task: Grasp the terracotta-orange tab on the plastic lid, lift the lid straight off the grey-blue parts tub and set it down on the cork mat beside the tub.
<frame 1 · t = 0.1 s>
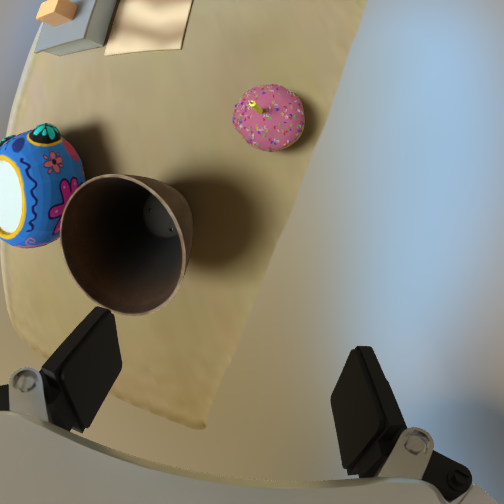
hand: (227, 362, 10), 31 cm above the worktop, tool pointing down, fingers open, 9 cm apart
ceramic pot: (64, 179, 39), on the worktop
plant pot: (166, 214, 41), on the worktop
cupcake: (269, 121, 36), on the worktop
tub: (92, 8, 28), on the worktop
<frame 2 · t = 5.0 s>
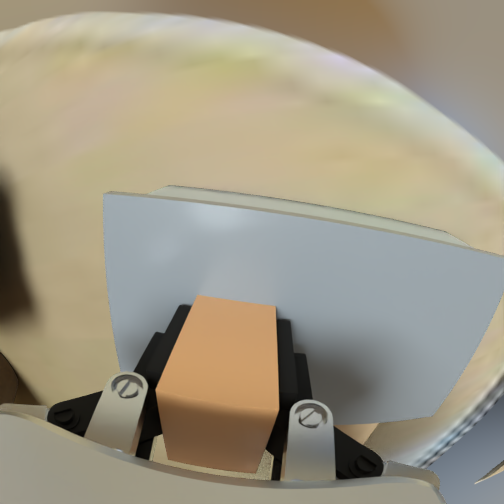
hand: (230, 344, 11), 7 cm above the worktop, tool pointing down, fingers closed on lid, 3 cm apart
lid: (322, 343, 12), point 6 cm above the worktop, touching gripper, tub
mat: (272, 409, 22), on the worktop
plant pot: (1, 363, 25), on the worktop
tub: (307, 284, 18), on the worktop
when the fingers open (4 cm above the worktop, at t = 11.7 s): lid drops 2 cm, resting on mat.
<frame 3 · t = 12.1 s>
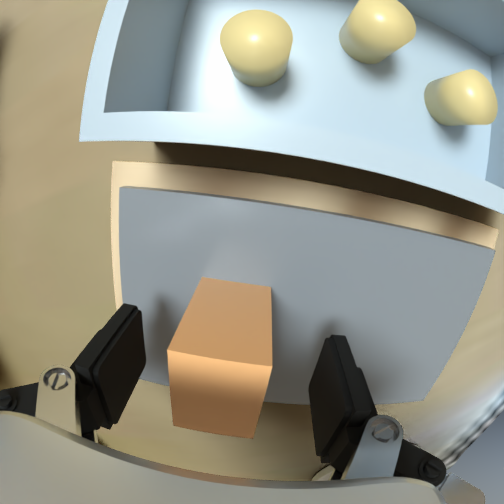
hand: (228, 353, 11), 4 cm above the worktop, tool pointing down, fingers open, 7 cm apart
lid: (314, 323, 13), point 1 cm above the worktop, touching mat
mat: (313, 309, 15), on the worktop
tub: (357, 67, 10), on the worktop
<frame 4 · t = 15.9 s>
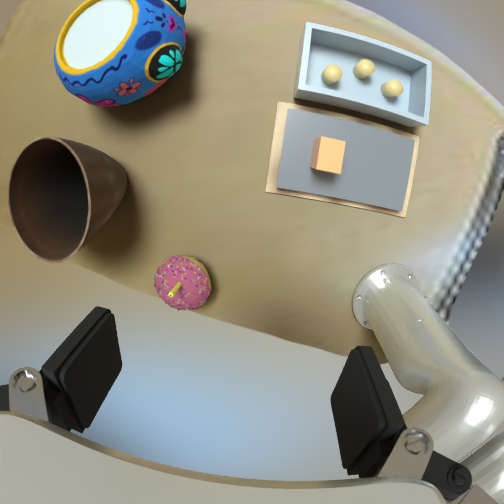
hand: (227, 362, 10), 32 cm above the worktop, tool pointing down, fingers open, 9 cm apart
ceramic pot: (144, 60, 34), on the worktop
lid: (349, 160, 36), point 1 cm above the worktop, touching mat
mat: (347, 160, 38), on the worktop
plant pot: (108, 181, 40), on the worktop
cupcake: (190, 270, 45), on the worktop
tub: (358, 80, 33), on the worktop
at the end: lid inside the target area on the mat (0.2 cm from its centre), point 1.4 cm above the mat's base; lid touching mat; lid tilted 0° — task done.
